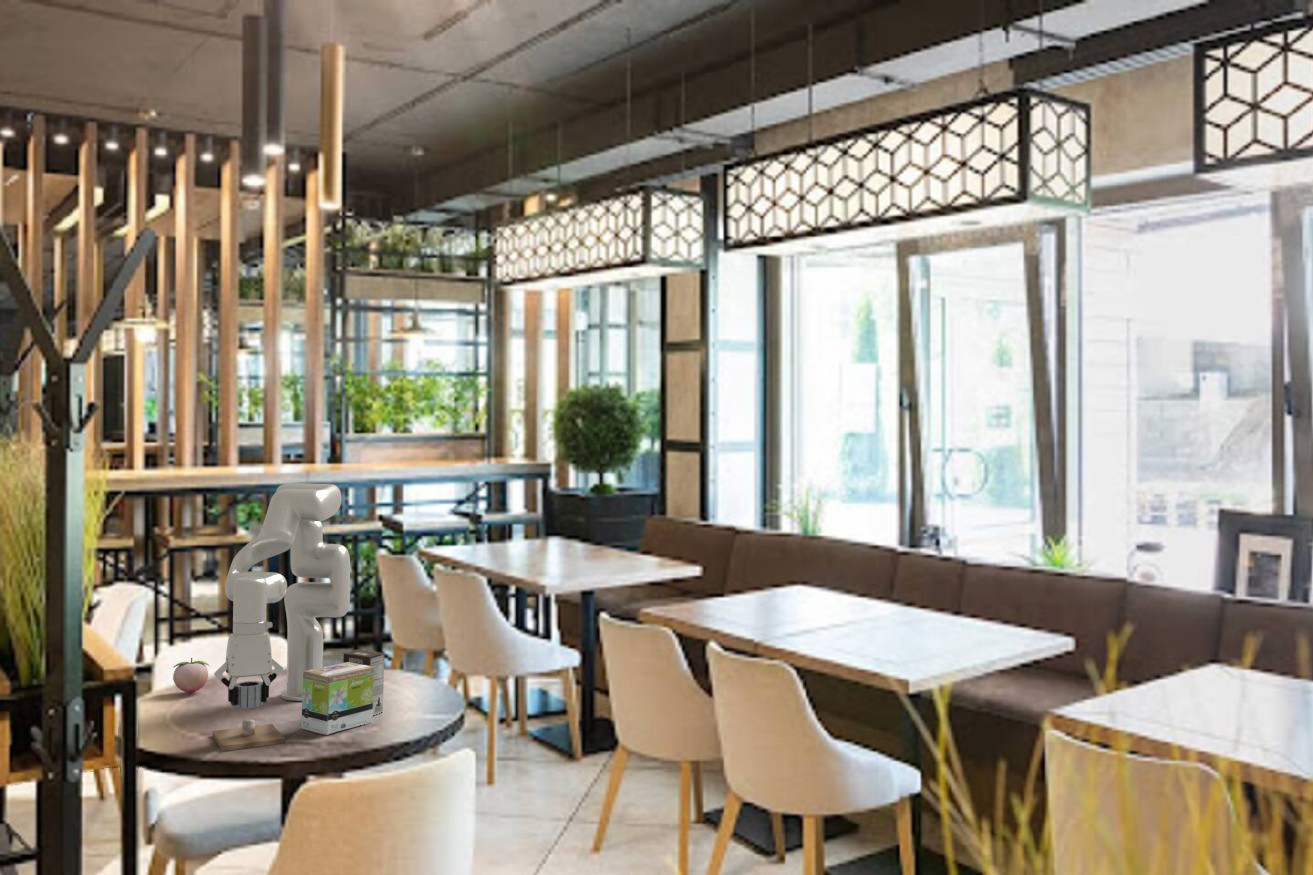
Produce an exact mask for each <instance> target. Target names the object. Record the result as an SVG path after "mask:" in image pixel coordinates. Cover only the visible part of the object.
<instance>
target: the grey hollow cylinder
mask: <svg viewBox="0 0 1313 875" xmlns="http://www.w3.org/2000/svg"><path fill="white" fill-rule="evenodd" d="M235 689H236V705H235V706H234V708H238V709H252V708H253V709H254V708H258V707H262V705H264V702H263V681H259V680H246V681H240V682H236V684H235Z"/></svg>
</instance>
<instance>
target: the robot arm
mask: <svg viewBox="0 0 1313 875" xmlns="http://www.w3.org/2000/svg"><path fill="white" fill-rule="evenodd" d="M341 505H342V492H341V489H340V488H339V487H338V486H336V485H335V484H332V483H307V482H305V483H304V482H303V483H301V482H300V483H297V482H295V483H284V484H281V485H280V486H278V487H277V488H276V490H275V493H274V494H273V495H272V497H271V499H270V502H269V505H268V508H267V512H266V514H265V518H264V520H263V524H262V527H261V530H260V533H259V535H258V536H256V537H255V538H254V539H252V540H251V541H249V542H248V543H247V544H246V545H244V547H243V548H241V549H240V550H239V551H238V552H237V553H236V554H235V555H234V557H233V559H232V562H231V564H230V566H229V570H228V573H227V577H226V580H225V584H224V585H225V586H224V592H225V595H226V597H227V599H228V600H230V601H232V603H233V606H232V611H233V613H232V614H233V617H232V633H230V634H229V635H228V639H227V644H226V652H225V653H226V654H225V662H224V663H223V664H222V665H221V666H220V667H219V668H218V669H217V670H216V671H215V672H213V675H214V676H215V678H216V679H218V680H219V681H220V682H221V683H222V684H223V685H224V686H226V688H227V691H228V692H227V700H228V703H230V705H231V706H232V707H235V705H236V689H235V684H236V683H238V682H237V681H239V680H238V679H239V678H246V677H255V676H256V677H258V676H260V677H261V680H262V683H263V704H264V703H267V702H268V701H267V699H268V698H270V686H271V683H272V682H274V680H276V678H277V677H278V675H279V674H280V673H281V672H282V671H283V670H284V667H283V666H282V665H280V664H279V663H278V662H277V661H276V660H274V659H273V656H272V655H273V653H272V645H271V644H272V643H271V637H270V633H269V631H268V629H272V628H273V622H272V621H267V606H268V605H267V604H275V603H278V602H280V601H282V599H283V598H284V601H283V602H284V607H285V608H284V610H285V613H286V614H285V615H286V623H287V641H286V642H287V645H286V647H287V648H286V649H287V651H286V652H287V653H286V657H287V659H286V668H287V669H286V688H285V689H284V690H282V691H281V692H280V697H281V698H282V699H283V700H286V701H291V702H292V701H293V702H295V701H296V702H302V694H303V673H304V671H307V670H312V669H317V668H322V667H324V630H323V628H322V626H321V624H320V622H318V620H317V619H316V618H342V617H344V616H345V615H347V613H348V611H349V608H350V602H351V557H350V552H349V550H348V548H347V547H346V546H344V545H342V544H338V543H324V539H323V535H324V533H323V532H324V531H323V529H324V528H323V527H324V526H323V524H322V522H324V521H326V520H328V519H329V518H331V517H333V516H335V515H336V514H337V513H338V511H339V510H340V507H341ZM288 550H290V569H291V573H292V574H293V575H294V576H296V577H299V578H307V579H329V580H330V582H318V581H317V582H313V581H311V582H310V581H303V582H301V581H299V582H296V583H293V584H291V585H289V586H288V581H287V579H286V578H285V577H284V575H282V574H280V573H278V572H273V571H271V572H270V571H269V572H267V571H249V570H250V569H251V568H252V567H253V566H255V565H256V564H257V563H259V562H262V561H264V560H266V559H269V558H272V557H275V556H277V555H280V554H282V553H285V552H287V551H288ZM272 668H274V670H273V669H272ZM272 670H273V671H272ZM224 673H226V674H228V677H229V678H228V679H227V677H225V676H224V675H223V674H224Z"/></svg>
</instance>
